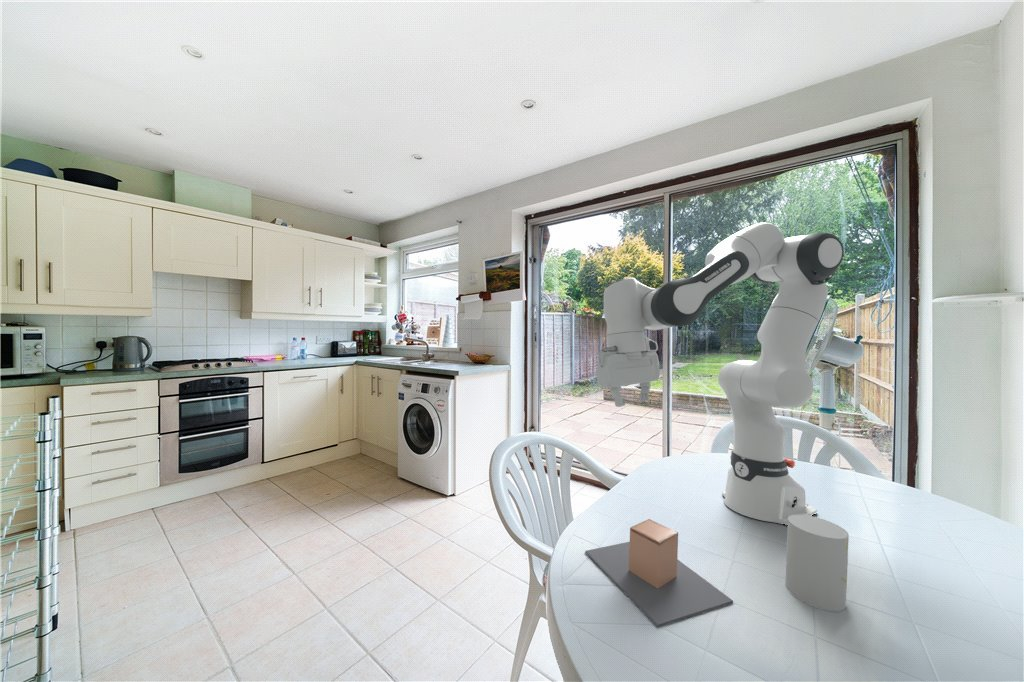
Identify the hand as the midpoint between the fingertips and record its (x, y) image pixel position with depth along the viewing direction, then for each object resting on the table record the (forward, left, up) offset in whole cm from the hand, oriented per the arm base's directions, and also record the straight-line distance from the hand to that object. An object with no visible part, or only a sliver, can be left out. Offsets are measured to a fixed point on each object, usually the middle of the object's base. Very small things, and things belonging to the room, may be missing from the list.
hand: (632, 403), depth 86 cm
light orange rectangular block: (+9, +17, -28) cm, 34 cm away
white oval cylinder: (-15, +30, -29) cm, 44 cm away
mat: (+9, +17, -28) cm, 34 cm away
